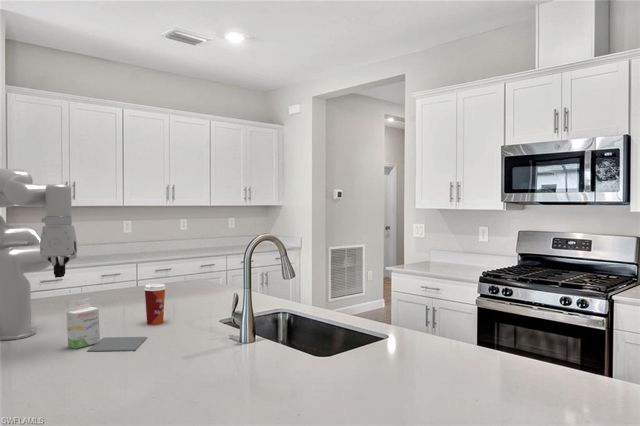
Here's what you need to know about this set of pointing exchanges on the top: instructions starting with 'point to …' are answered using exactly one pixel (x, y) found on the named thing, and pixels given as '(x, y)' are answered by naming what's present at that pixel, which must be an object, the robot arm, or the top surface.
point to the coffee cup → (154, 303)
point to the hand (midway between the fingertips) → (59, 276)
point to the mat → (117, 344)
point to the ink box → (82, 324)
